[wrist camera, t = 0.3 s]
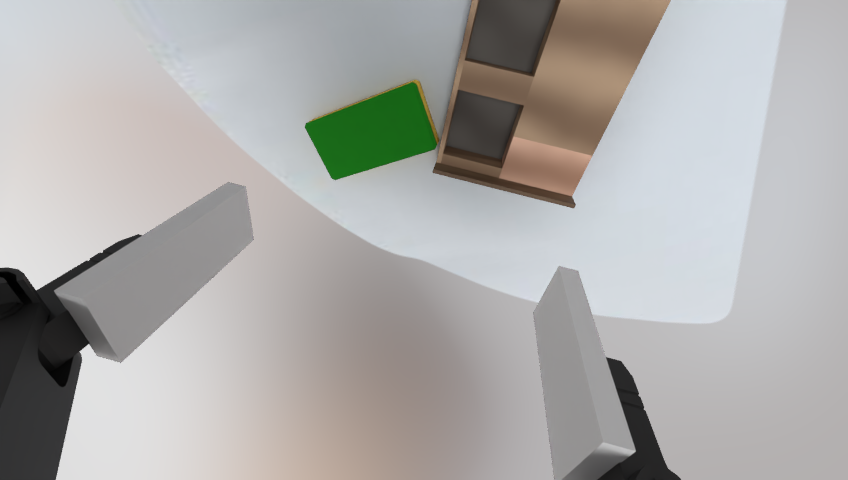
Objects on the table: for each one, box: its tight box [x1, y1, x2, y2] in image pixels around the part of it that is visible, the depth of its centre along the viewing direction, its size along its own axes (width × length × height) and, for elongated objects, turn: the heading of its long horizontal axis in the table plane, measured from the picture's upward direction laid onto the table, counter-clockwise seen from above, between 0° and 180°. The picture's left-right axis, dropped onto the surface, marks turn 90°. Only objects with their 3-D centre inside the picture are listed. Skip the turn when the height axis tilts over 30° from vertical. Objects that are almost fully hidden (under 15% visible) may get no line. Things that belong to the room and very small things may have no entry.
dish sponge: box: [305, 80, 439, 180], centre depth 38 cm, size 7×14×2 cm, turn 110°
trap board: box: [433, 0, 671, 208], centre depth 29 cm, size 25×15×5 cm, turn 169°
